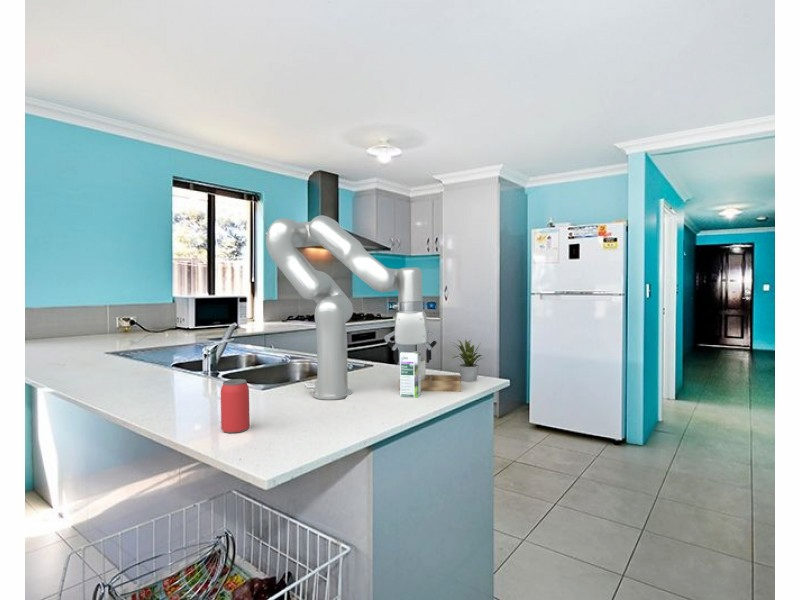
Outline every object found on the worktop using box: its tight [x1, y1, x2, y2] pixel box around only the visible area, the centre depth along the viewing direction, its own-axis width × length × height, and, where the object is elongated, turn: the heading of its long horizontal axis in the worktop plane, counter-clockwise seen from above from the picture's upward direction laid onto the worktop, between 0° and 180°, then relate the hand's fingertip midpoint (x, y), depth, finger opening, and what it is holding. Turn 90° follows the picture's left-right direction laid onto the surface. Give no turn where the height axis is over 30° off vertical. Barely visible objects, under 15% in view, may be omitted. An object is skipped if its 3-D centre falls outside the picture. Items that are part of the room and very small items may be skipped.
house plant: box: [450, 339, 484, 383], centre depth 169 cm, size 14×14×16 cm
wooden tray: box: [398, 374, 462, 393], centre depth 158 cm, size 20×10×4 cm, turn 82°
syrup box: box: [399, 350, 422, 399], centre depth 147 cm, size 6×6×14 cm
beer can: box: [220, 378, 251, 434], centre depth 116 cm, size 7×7×12 cm
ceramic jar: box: [421, 356, 426, 380], centre depth 158 cm, size 6×6×10 cm
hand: (412, 362), depth 147 cm, fingers open, 9 cm apart
